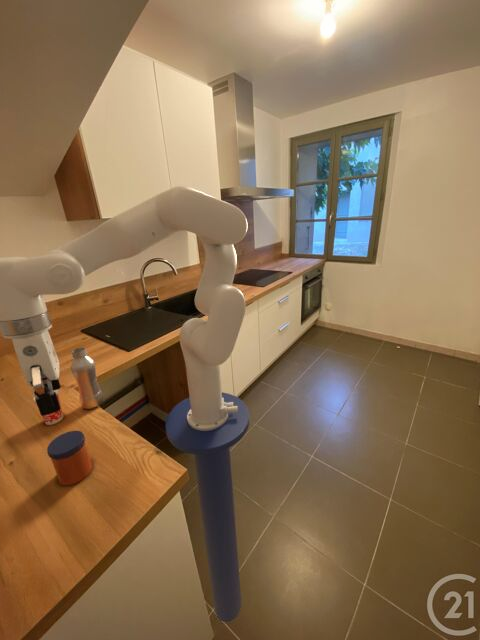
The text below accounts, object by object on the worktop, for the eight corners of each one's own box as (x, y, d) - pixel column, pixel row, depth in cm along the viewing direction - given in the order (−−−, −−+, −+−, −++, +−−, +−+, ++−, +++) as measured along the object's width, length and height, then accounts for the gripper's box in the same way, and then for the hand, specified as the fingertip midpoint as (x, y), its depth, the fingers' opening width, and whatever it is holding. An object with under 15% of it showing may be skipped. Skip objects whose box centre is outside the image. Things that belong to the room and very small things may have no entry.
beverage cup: (37, 426, 78) (22, 385, 73) (53, 412, 83) (40, 374, 79) (55, 427, 77) (41, 386, 72) (70, 413, 82) (58, 374, 78)
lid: (90, 433, 63) (89, 429, 62) (75, 458, 56) (73, 453, 56) (60, 436, 62) (59, 431, 62) (41, 461, 56) (39, 456, 55)
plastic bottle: (80, 405, 86) (63, 350, 80) (102, 396, 90) (88, 343, 84) (84, 414, 82) (67, 357, 75) (107, 405, 86) (93, 349, 79)
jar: (97, 459, 65) (89, 431, 62) (83, 484, 59) (73, 454, 56) (69, 461, 65) (59, 433, 62) (52, 486, 58) (40, 456, 56)
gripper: (48, 332, 44) (74, 415, 50) (51, 310, 58) (71, 377, 64) (-10, 344, 41) (25, 432, 46) (8, 317, 54) (33, 388, 60)
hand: (51, 400), depth 55 cm, fingers open, 8 cm apart
